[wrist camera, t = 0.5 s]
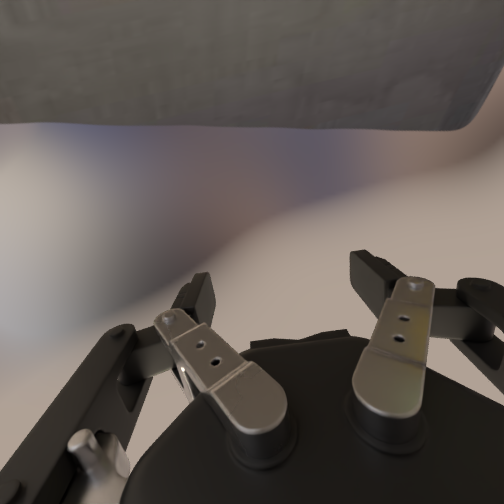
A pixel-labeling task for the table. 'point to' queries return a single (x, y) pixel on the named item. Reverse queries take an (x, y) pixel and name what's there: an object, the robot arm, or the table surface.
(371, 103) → the table surface
